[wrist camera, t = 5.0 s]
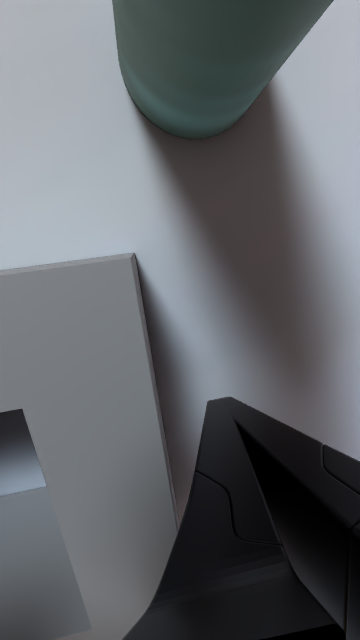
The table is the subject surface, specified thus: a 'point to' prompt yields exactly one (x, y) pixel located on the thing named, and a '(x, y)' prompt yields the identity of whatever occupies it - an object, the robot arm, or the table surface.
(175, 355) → the table surface
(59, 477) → the socket block
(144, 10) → the dowel
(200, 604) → the robot arm
